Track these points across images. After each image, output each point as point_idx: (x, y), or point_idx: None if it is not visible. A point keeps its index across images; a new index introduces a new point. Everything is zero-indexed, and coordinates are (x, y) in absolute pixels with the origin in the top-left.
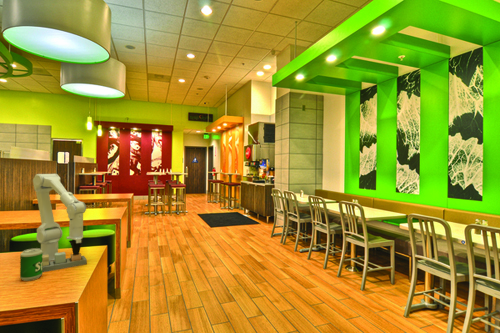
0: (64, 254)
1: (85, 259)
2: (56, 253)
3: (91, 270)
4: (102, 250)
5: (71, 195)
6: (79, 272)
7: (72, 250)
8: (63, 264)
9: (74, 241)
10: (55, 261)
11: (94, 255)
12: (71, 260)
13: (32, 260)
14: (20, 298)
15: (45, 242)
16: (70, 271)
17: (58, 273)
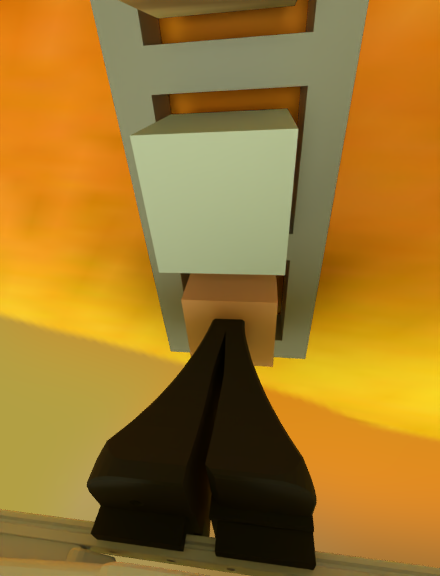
0: (160, 255)
1: (178, 346)
2: (262, 160)
3: (34, 320)
4: (435, 435)
5: None
6: (11, 266)
7: (232, 351)
8: (136, 195)
9: (117, 506)
10: (161, 119)
11: (357, 389)
12: None
13: None
14: None
15: None
16: (49, 221)
17: (20, 129)
